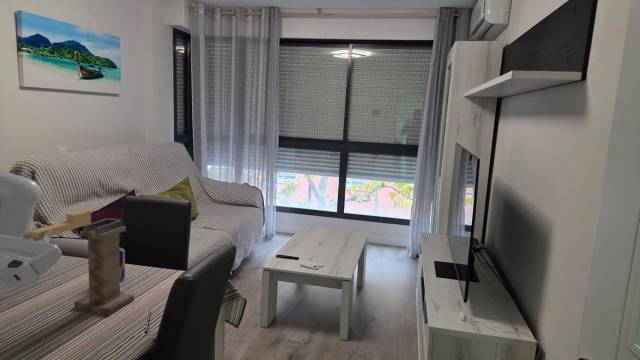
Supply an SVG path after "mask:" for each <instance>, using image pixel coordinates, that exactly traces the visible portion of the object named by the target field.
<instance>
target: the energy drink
mask: <svg viewBox="0 0 640 360" xmlns="http://www.w3.org/2000/svg"><path fill="white" fill-rule="evenodd" d="M125 257H126V256H125V249H124V248H123V247H119V261H120V282H123V281H124V280H125V278H126V276H125V275H126V272H125V271H126V267H125V264H126V262H125V261H126V260H125V259H126V258H125Z"/></svg>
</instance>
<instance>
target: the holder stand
mask: <svg viewBox="0 0 640 360" xmlns="http://www.w3.org/2000/svg"><path fill="white" fill-rule="evenodd" d="M126 231H127V227H126V225H124V219H117V218H111V217H107V218H104V219H101V220H98V221H94V222H91V224H88V225H85V226H82V230H81V231H79V235H80V237H83V238H87V252H88V253H87V254H88V255H87V257H88V259H87V260H88V263H87V264H88V294H86V295H85V296H83V297H81V298H79V299H77V300H76V301H74V308H76V309H79V310H80V309H81V310H84V311H89V312H93V313H94V312H95V313H99V314H103V315H106V316H107V315H108V316H112V315H113V314H115V313H116V312H118V311H120V310H122V309H123V308H124V307H126V306H128V305H129V304H131V303H132V302H134V301H135V295H134V294H129V293H124V292H121V290H120V289H121V285H120V284H121V283H120V282H121V281H120V261H119V248H120V233H123V232H126Z"/></svg>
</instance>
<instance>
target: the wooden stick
mask: <svg viewBox="0 0 640 360" xmlns="http://www.w3.org/2000/svg"><path fill="white" fill-rule="evenodd" d="M65 219H66V220H65V221H64V220H63V221H60V222H57V223H56V222H55V223H53V224H50V225H46V226H43V227H39V228H37V229H35V230H32V231H29V239H34V240H35V241H39V240H40V239H43V235H42V234H43V233H44V232H45V231H46V230H49V231H52V232H53V234H54V235H53V236H55V235H59V234H62V233H65V232H68V231H71V230H75V229H78V228H81V227H82V228H83V226H85V225H88V224H91V223H92V212H91V210H88V209H86V210H85V209H80V210H76V211H72V212H68V213H66V216H65Z"/></svg>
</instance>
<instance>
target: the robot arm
mask: <svg viewBox="0 0 640 360" xmlns="http://www.w3.org/2000/svg"><path fill="white" fill-rule="evenodd" d="M42 194H43V191H42V189H41V187H40V185H39V184H37V182H35V181H34V180H33V179H31V178H29V177H26V176H22V175H18V174H15V173H11V172H7V171H6V172H4V171H3V172H0V297H1V296H3V295H4V294H5V293H7V292H8V291H10V289H11V288H16V287H21V286H27V285H28V286H29V285H30V286H31V285H35V284H36V283H38V281H39V280H40V277H39V276H42V275H44V274H45V273H47V272H48V271H49V270H50V269H51V268H52V267H53V266H54V265H55V264H56V263H57V262H59V260H60V258H61V257H62V254H63V253H62V250H61V249H60V247H59V246H58V244H54V243H50V239H51V238H52V237H54V236H55V235H54V234H53V232H52V231H49V230H46V231H45V232H44V233H43V234H42V235H43V239H40V240H34V239H29V231H32V230H35V229H38V228H36V227H34V214H35V210H36V207H37V206H36V205H37V204H38V203H39V202H40V200H41V198H42Z"/></svg>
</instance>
